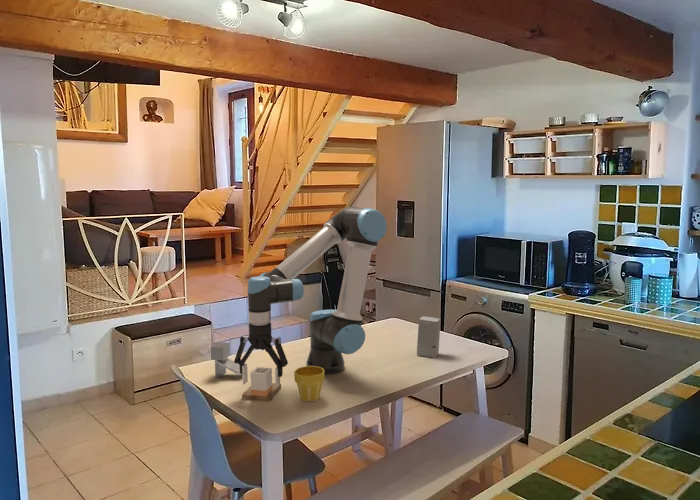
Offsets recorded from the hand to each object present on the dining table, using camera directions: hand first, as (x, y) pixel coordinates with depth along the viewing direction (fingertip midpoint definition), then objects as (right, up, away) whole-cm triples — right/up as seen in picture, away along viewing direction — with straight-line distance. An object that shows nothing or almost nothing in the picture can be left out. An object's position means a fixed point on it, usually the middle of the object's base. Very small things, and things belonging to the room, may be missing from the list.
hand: (261, 384), depth 192 cm
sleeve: (0, -3, +1) cm, 3 cm away
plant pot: (+17, -5, 0) cm, 17 cm away
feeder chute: (-15, -2, +20) cm, 25 cm away
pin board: (0, -4, +4) cm, 6 cm away
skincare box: (+64, +2, +45) cm, 78 cm away
